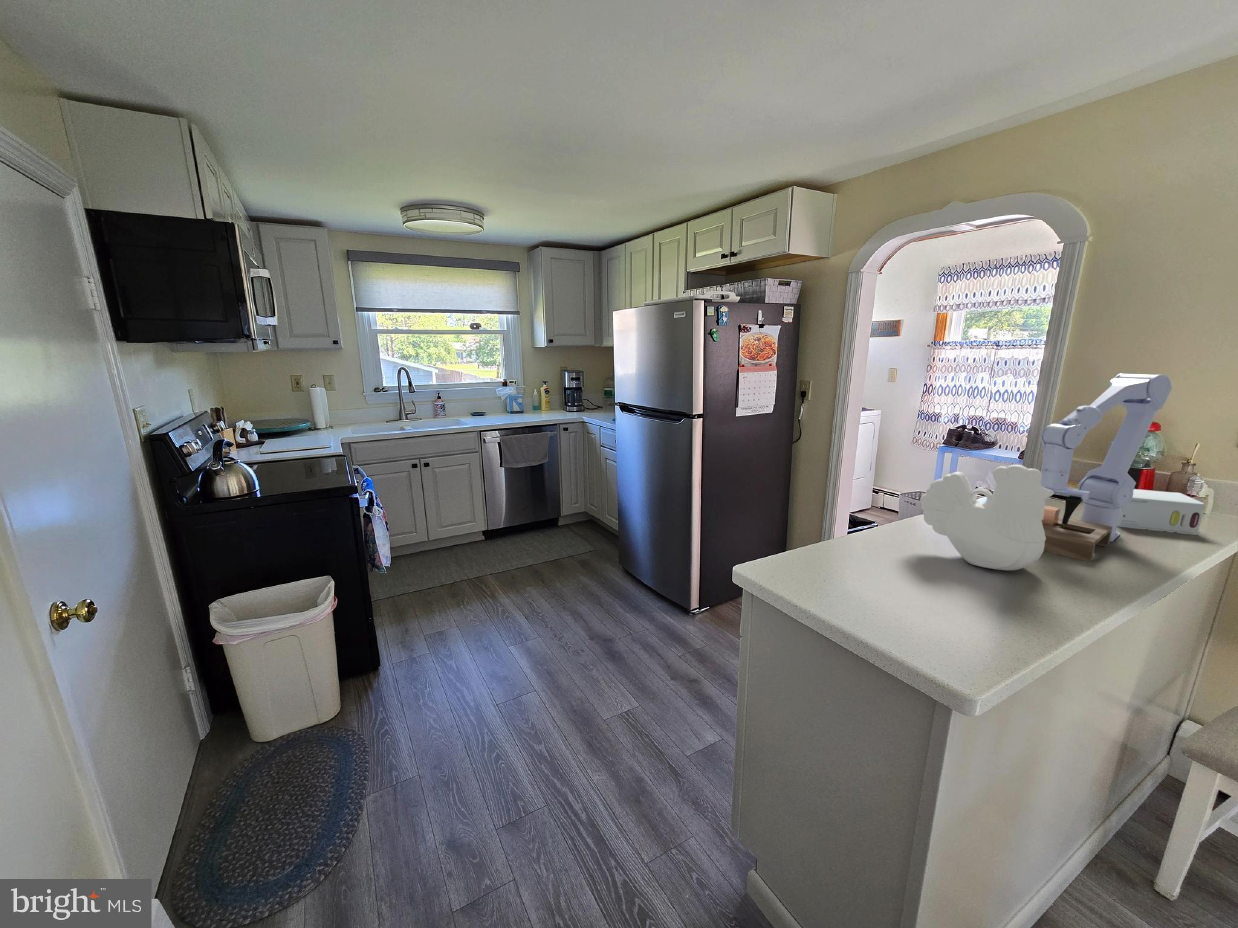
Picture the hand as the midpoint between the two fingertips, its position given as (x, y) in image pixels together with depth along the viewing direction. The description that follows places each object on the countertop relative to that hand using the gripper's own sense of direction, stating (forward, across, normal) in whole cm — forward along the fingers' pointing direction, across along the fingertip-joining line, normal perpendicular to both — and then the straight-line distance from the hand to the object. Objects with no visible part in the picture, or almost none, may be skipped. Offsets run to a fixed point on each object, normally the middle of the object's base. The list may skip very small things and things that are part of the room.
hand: (1046, 519), depth 133 cm
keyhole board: (+6, +3, 0) cm, 7 cm away
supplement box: (+6, +14, +40) cm, 42 cm away
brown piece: (+5, 0, 0) cm, 5 cm away
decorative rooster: (+6, -6, -29) cm, 30 cm away
